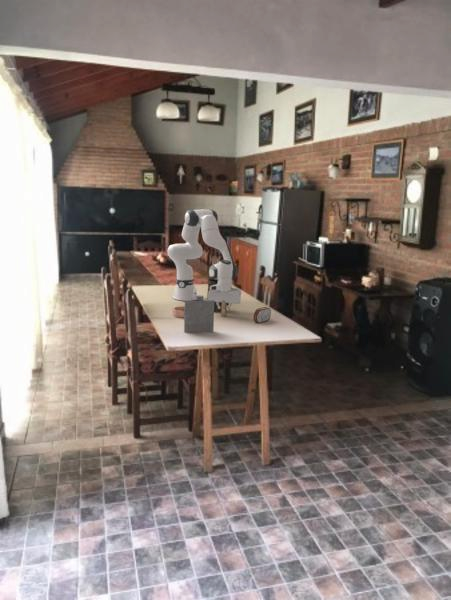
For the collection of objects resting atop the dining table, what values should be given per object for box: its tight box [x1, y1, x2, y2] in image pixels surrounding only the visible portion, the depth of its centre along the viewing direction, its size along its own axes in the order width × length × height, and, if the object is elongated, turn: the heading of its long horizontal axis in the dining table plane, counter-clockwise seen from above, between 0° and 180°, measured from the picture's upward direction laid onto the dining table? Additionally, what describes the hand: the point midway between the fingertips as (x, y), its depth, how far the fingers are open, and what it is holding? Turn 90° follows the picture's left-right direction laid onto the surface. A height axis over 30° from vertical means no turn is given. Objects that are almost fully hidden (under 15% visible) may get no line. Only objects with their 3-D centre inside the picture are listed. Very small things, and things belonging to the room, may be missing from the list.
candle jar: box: [171, 305, 185, 319], centre depth 304 cm, size 13×13×4 cm
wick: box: [220, 300, 228, 318], centre depth 304 cm, size 4×2×10 cm, turn 164°
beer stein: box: [206, 278, 229, 313], centre depth 319 cm, size 15×11×20 cm
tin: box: [252, 306, 272, 324], centre depth 294 cm, size 15×3×8 cm, turn 141°
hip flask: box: [183, 294, 215, 334], centre depth 266 cm, size 16×4×20 cm, turn 103°
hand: (223, 309), depth 304 cm, fingers open, 4 cm apart
